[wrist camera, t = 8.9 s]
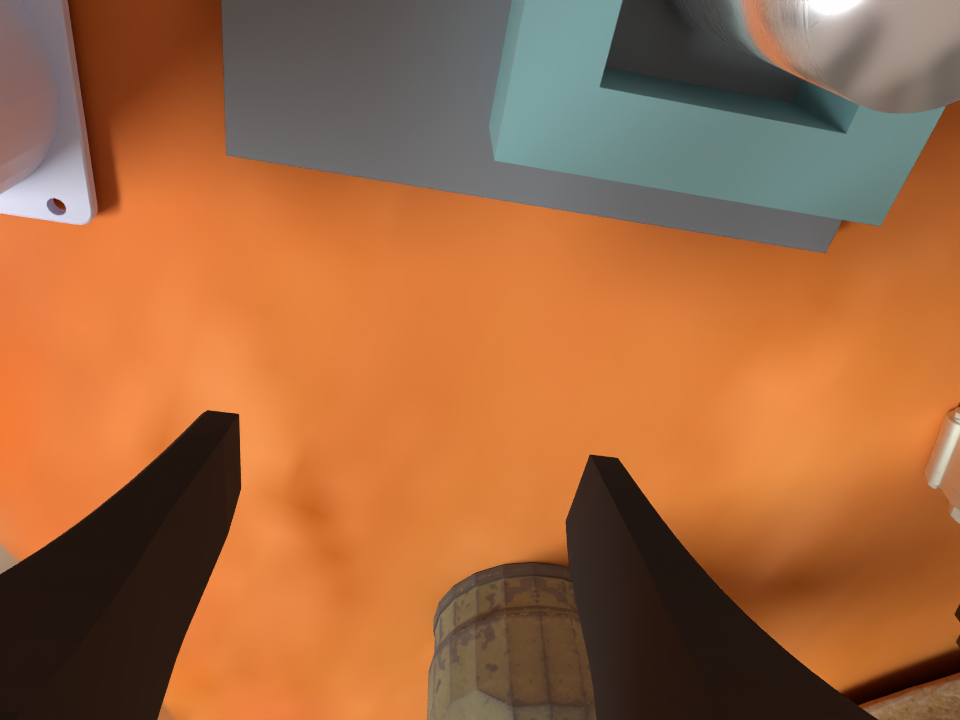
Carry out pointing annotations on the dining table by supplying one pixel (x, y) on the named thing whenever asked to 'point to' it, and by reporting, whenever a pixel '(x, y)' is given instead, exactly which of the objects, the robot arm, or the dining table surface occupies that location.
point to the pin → (846, 45)
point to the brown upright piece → (920, 702)
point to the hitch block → (561, 113)
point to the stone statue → (510, 648)
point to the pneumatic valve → (947, 468)
